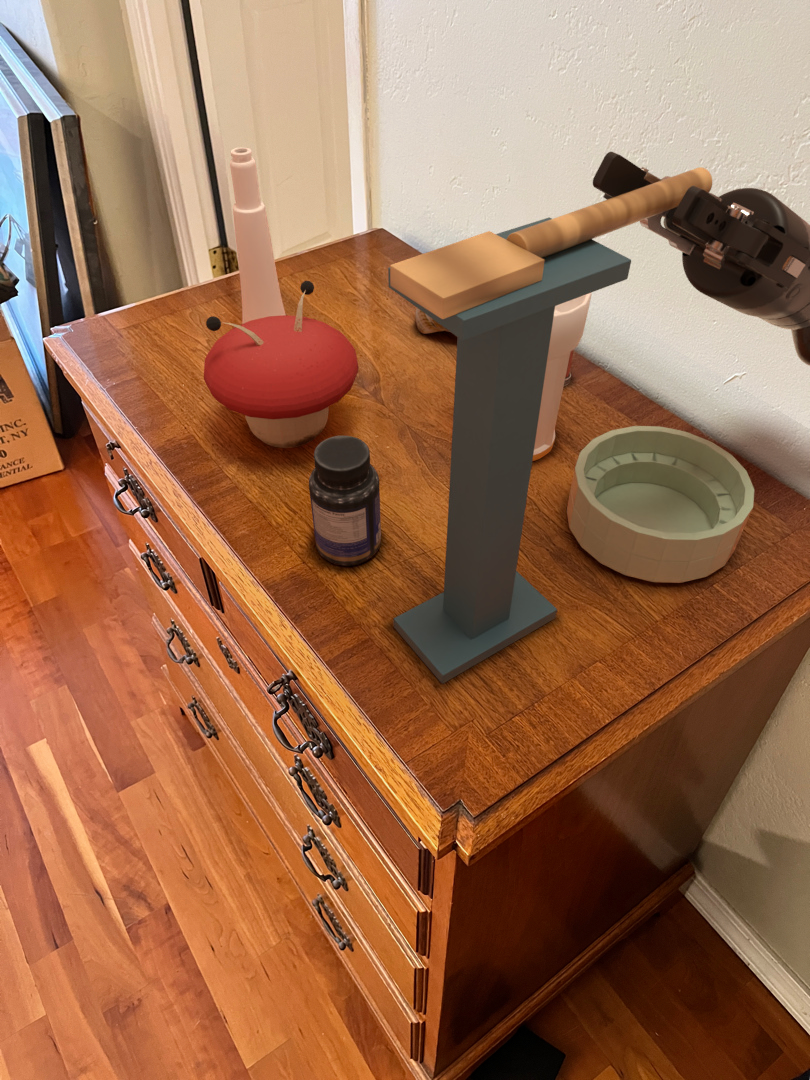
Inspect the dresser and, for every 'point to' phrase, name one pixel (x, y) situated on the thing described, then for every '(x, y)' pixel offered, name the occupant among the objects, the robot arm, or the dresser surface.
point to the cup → (559, 367)
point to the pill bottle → (345, 501)
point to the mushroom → (281, 374)
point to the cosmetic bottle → (253, 242)
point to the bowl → (658, 503)
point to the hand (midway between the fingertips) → (643, 186)
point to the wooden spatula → (526, 249)
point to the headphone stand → (497, 462)
